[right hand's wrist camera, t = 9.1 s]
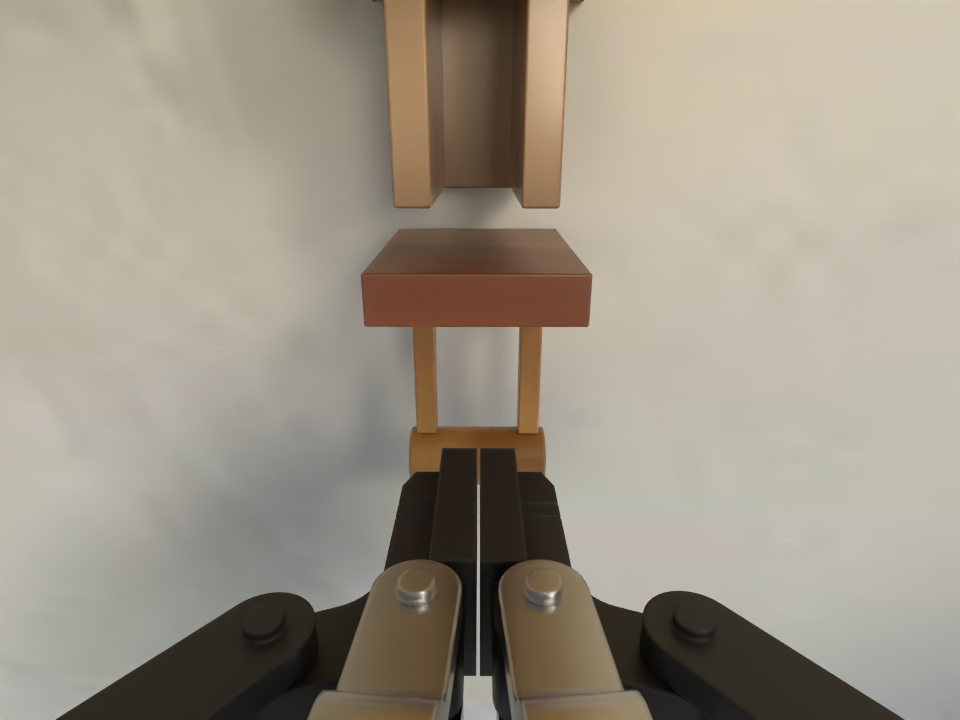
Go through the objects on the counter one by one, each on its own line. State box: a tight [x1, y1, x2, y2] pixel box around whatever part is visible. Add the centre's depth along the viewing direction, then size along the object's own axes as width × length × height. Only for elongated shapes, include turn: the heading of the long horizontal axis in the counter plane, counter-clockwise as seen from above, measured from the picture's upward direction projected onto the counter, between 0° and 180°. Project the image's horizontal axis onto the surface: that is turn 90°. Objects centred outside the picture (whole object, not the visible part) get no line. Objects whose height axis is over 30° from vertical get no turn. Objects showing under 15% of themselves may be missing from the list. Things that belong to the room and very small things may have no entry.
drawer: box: [361, 0, 592, 485], centre depth 14 cm, size 23×5×7 cm, turn 0°
